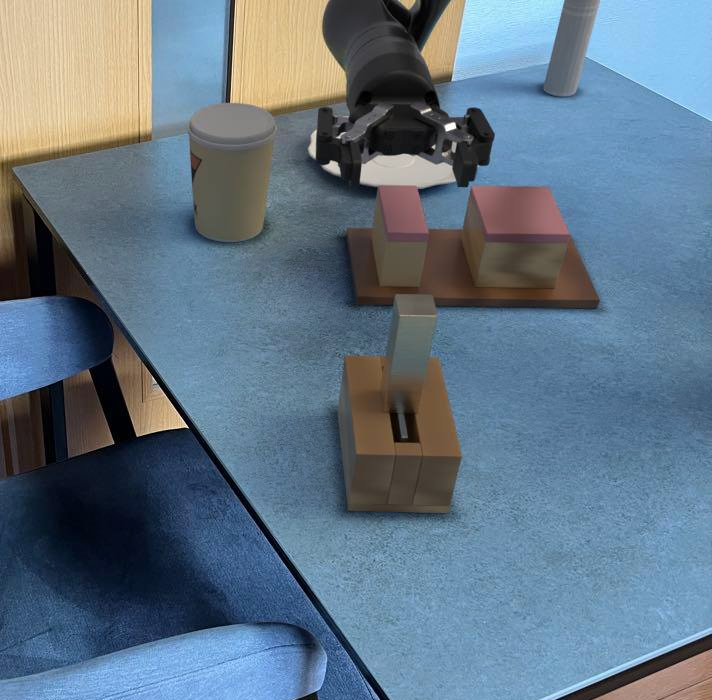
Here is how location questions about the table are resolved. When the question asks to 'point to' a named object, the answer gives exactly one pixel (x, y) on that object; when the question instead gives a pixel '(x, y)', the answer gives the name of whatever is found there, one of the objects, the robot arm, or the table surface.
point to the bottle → (570, 46)
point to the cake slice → (399, 236)
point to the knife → (407, 358)
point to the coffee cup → (230, 169)
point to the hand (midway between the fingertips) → (411, 175)
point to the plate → (396, 169)
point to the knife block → (396, 460)
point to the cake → (489, 257)
